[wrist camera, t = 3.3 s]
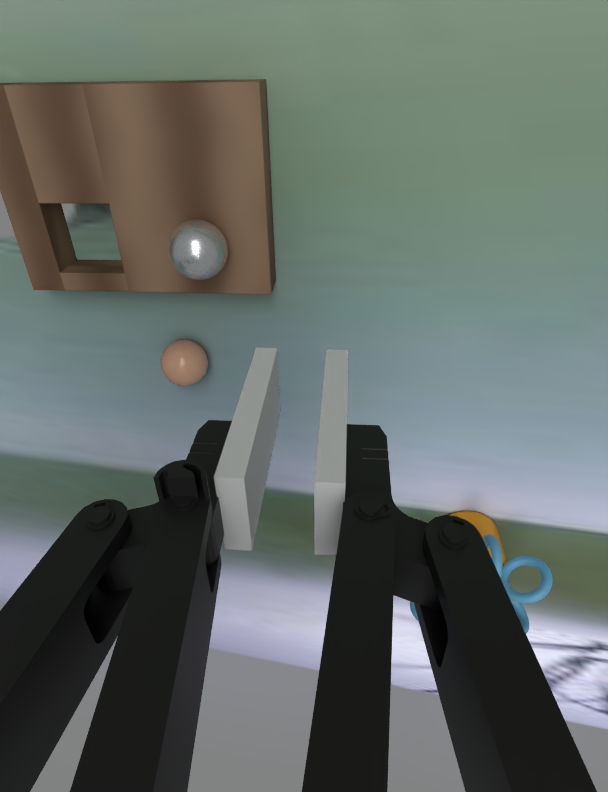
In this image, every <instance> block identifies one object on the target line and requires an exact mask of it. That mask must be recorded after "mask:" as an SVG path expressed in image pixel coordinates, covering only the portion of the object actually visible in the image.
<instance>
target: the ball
mask: <svg viewBox="0 0 608 792" xmlns="http://www.w3.org/2000/svg"><path fill="white" fill-rule="evenodd" d="M161 369H162V372H163V374H164V375H165V377H166V378H167V379H168V380H169V381H170V382H172V383H174V384H176V385H179V386H190V385H193V384H196V383H197V382H199V381H200V380H201V379H202V378H203V377H204V375H205V374H206V372H207V369H208V358H207V355H206V353H205V351H204V349H203V348H202V347H201V346H200V345H199V344H197V343H195V342H193V341H190V340H178V341H175V342H173V343H171V344H170V345H168V346H167V347H166V348H165V350H164V351H163V353H162V356H161Z"/></svg>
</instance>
